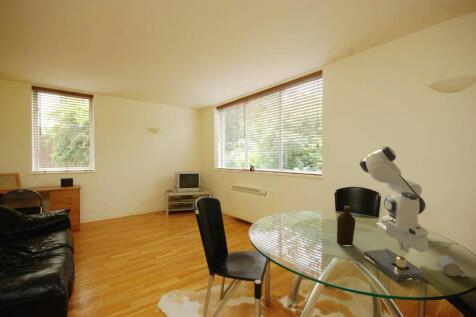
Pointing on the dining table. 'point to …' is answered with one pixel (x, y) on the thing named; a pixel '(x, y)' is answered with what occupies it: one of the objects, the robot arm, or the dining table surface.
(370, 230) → the dining table surface
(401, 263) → the brass bushing
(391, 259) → the metal jig
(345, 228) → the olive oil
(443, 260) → the ceramic mug
